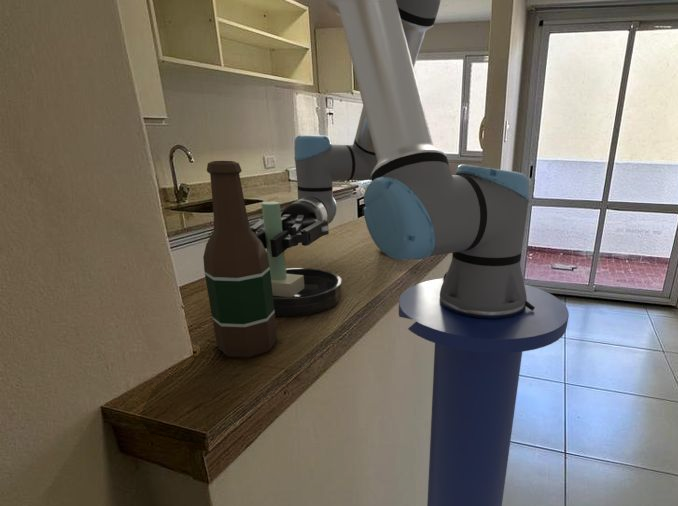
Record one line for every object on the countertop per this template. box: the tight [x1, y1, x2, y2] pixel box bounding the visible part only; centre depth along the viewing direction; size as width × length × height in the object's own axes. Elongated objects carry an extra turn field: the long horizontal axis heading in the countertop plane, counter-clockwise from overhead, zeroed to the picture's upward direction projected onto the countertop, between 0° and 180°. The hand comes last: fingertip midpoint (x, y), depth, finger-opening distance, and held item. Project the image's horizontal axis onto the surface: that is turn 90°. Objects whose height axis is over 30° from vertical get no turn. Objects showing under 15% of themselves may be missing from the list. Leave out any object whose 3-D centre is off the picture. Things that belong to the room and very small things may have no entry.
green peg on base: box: [261, 201, 304, 297], centre depth 74 cm, size 7×5×15 cm
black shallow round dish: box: [273, 267, 343, 318], centre depth 77 cm, size 16×16×3 cm
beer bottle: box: [203, 160, 278, 358], centre depth 57 cm, size 8×8×24 cm
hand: (262, 248), depth 69 cm, fingers closed on green peg on base, 3 cm apart
